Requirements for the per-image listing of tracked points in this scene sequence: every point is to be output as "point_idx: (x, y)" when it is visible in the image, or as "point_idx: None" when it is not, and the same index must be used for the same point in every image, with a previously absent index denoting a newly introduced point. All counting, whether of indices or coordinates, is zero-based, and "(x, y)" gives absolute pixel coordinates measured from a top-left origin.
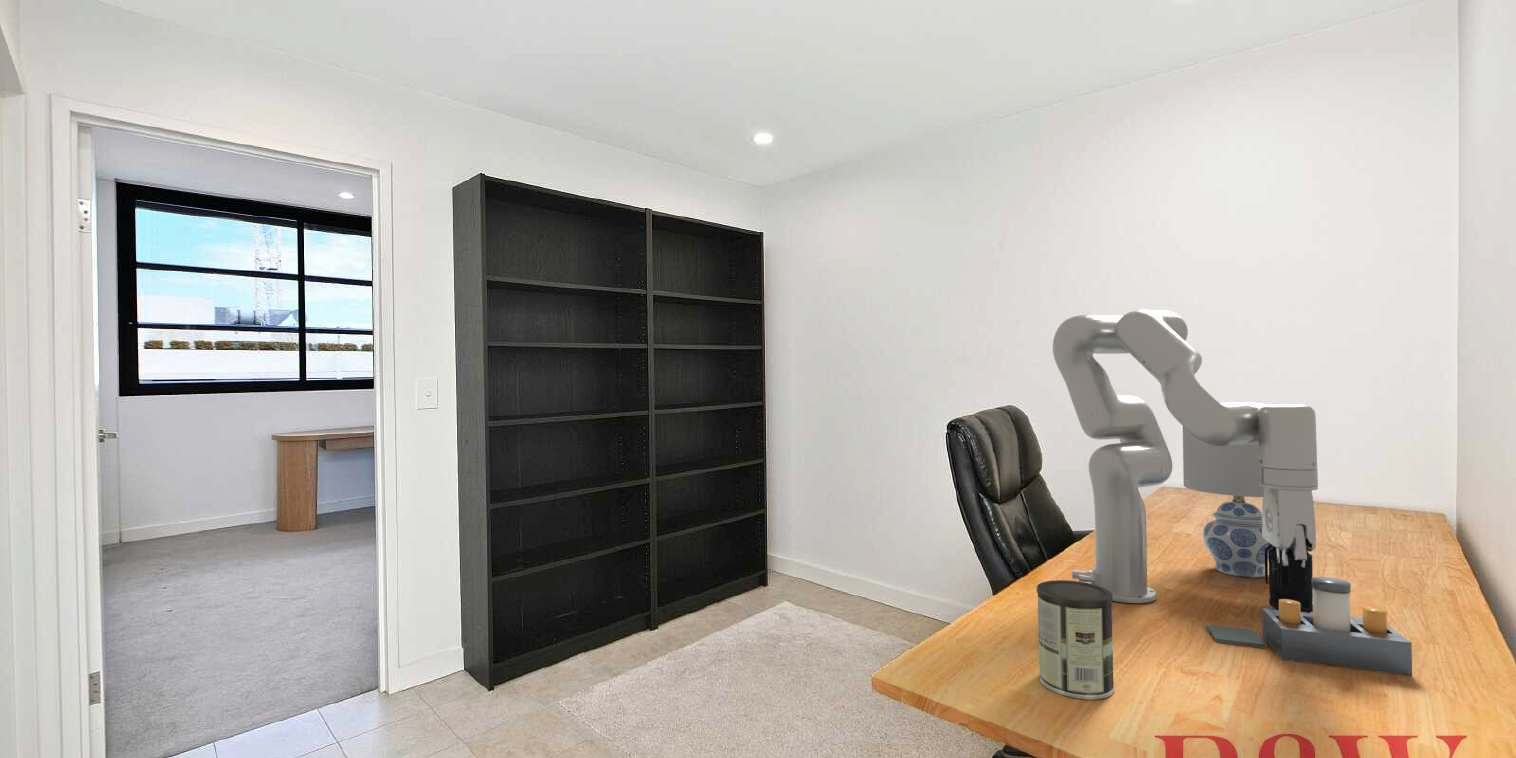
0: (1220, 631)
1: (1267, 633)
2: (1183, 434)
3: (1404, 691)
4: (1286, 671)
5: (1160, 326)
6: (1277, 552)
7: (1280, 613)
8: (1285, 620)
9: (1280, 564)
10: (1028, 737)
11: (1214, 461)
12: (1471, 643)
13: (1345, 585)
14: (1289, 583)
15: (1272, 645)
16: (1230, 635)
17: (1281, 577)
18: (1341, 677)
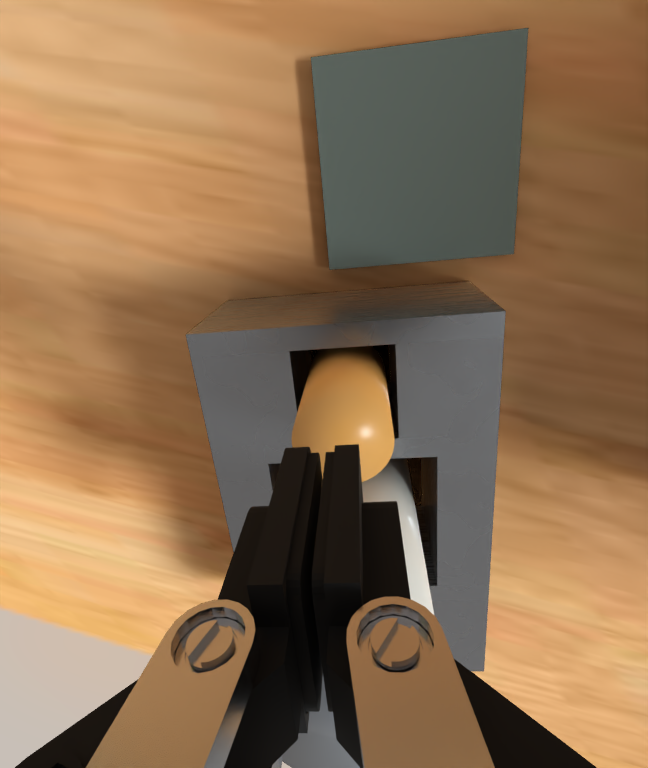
0: (432, 95)
1: (402, 294)
2: None
3: (149, 535)
4: (115, 291)
5: None
6: (441, 725)
7: (330, 370)
8: (309, 375)
9: (326, 593)
10: None
11: None
12: (597, 755)
13: (288, 758)
14: (251, 514)
15: (334, 294)
16: (390, 138)
17: (274, 500)
18: (162, 430)
